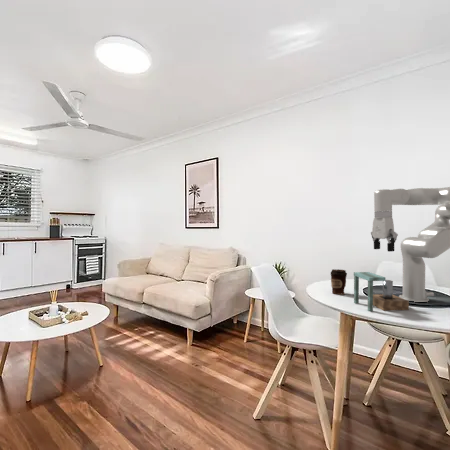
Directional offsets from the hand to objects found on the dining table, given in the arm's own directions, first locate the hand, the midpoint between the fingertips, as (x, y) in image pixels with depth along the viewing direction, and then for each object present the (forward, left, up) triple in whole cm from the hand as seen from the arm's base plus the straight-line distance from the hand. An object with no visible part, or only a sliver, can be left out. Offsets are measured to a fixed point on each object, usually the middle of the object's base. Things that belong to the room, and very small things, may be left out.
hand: (383, 250), depth 139 cm
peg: (+2, +6, -26) cm, 26 cm away
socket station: (+5, +6, -26) cm, 27 cm away
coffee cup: (+14, -18, -26) cm, 35 cm away
